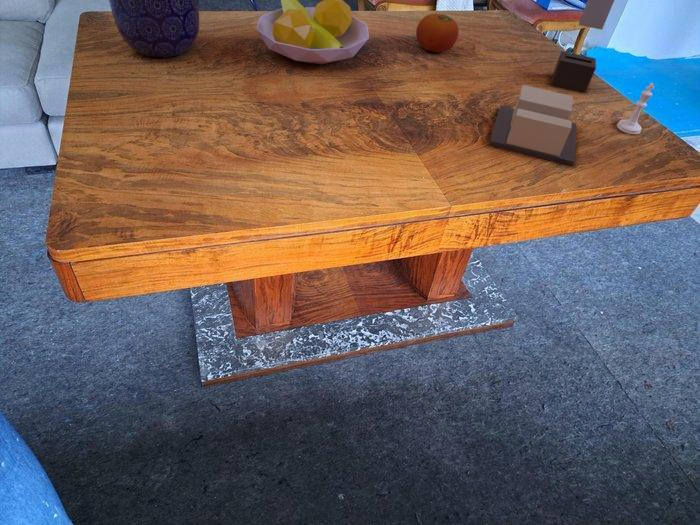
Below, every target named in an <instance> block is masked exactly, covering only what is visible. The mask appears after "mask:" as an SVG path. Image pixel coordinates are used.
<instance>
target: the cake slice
mask: <svg viewBox="0 0 700 525" xmlns="http://www.w3.org/2000/svg"><path fill="white" fill-rule="evenodd" d="M572 123H573V121H572V120H570V119H568V120H566V119H561V118H557V117H553V116H549V115H544V114H540V113H536V112H532V111H527V110H523V109H519V108H518V109H517V112H516V115H515V118H514V120H513V123H512V126H511V129H510V132H509V135H508V139H507V144H511V145H515V146H519V147H523V148H527V149H531V150H535V151H539V152H543V153H547V154H551V155H555V156H560V153H561V151H562V149H563V146H564V144H565V142H566V140H567V137H568V135H569V133H570V130H571V125H572Z"/></svg>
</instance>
